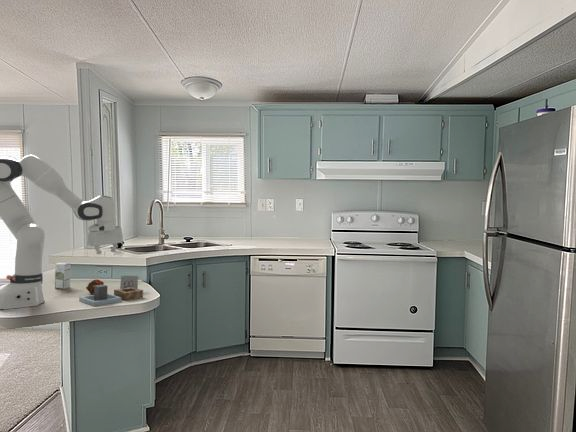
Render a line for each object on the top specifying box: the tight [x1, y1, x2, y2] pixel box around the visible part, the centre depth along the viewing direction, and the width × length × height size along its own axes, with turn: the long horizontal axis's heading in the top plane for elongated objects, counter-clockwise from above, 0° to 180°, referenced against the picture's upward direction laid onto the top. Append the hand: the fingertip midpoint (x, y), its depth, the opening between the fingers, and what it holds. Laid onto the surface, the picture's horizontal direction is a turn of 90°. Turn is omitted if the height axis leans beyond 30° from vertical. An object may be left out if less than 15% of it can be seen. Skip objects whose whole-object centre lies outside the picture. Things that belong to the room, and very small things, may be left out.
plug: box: [93, 284, 108, 301], centre depth 207 cm, size 4×4×8 cm
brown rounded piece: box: [85, 278, 105, 295], centre depth 223 cm, size 8×8×12 cm
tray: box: [78, 292, 122, 307], centre depth 207 cm, size 14×14×2 cm
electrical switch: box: [119, 275, 139, 289], centre depth 233 cm, size 9×5×9 cm, turn 102°
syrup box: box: [54, 261, 71, 290], centre depth 233 cm, size 6×6×14 cm
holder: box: [113, 287, 144, 301], centre depth 218 cm, size 10×10×4 cm
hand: (106, 253), depth 212 cm, fingers open, 8 cm apart
